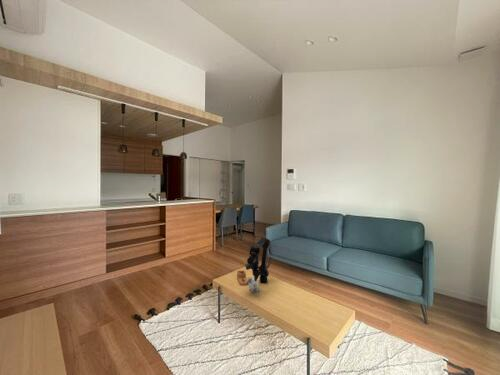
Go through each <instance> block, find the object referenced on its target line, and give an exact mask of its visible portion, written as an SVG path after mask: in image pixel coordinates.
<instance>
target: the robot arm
mask: <svg viewBox="0 0 500 375" xmlns="http://www.w3.org/2000/svg"><path fill="white" fill-rule="evenodd" d="M271 245H272V241H271V240H270V239H268V238H267V237H264V236H262V237H260V239H259V240H258V241H257V242H256V243H255V244H252V245H251V247H250V250H249V252H248V253H249V254H248V255H249V257H248V258H247V259H246V262H247V263H246V264H245V265H244V266H245V271H248V270H252V271H251V272H252V275H253V277H254V278H255V281H257V280H258V281H259V283H260V284H268V277H269V274H270V272H269V271H268V270H269V269H268V266H267V261H268V253H269V249H270V247H271ZM261 248H262V255H261V263H260V262H259V261H260V260H259V259H260V253H261ZM259 264H260V265H259ZM258 278H259V279H258Z"/></svg>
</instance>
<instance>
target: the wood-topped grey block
mask: <svg viewBox="0 0 500 375" xmlns="http://www.w3.org/2000/svg"><path fill="white" fill-rule="evenodd" d="M253 284H256V287H255V288H256V291H257V292H258V288H259V279H257V281H255V280H251V288H250V289H251V292H253V289H254V287H253Z"/></svg>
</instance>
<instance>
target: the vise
mask: <svg viewBox="0 0 500 375" xmlns="http://www.w3.org/2000/svg"><path fill="white" fill-rule="evenodd" d="M247 280H248V285H247V286H248V288H249V289H251V280H255V278H254V276H253V277H251V276H250V277H248V278H247ZM253 288H256V284H253Z"/></svg>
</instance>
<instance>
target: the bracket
mask: <svg viewBox="0 0 500 375" xmlns="http://www.w3.org/2000/svg"><path fill="white" fill-rule="evenodd" d="M246 271H247V270H243V269H242V270H237V271H236V280H237V283H238V285H239V286H240V287H241V286H243V287H246V286H249V285H248V278H247V276H246V274H247V272H246Z"/></svg>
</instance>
